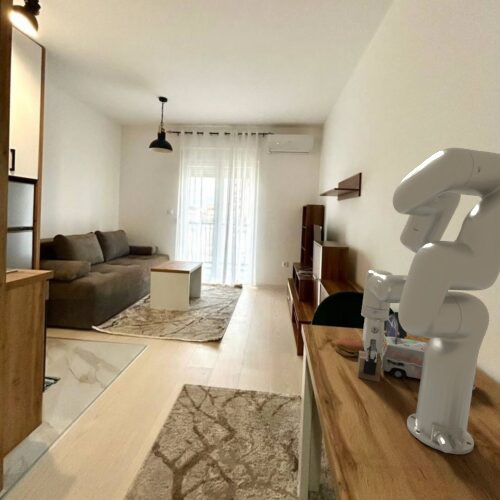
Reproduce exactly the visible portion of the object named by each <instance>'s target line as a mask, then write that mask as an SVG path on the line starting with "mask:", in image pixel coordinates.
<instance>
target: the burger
mask: <svg viewBox="0 0 500 500" xmlns="http://www.w3.org/2000/svg"><path fill="white" fill-rule="evenodd" d="M334 349H335V351H336V352H337V353H338V354H339V355H342V356H345V357H359V351H363V341H361V340H360V339H356V338H352V337H340V338H338V339H337V340H336V342H335V347H334Z"/></svg>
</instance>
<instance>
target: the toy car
mask: <svg viewBox="0 0 500 500" xmlns="http://www.w3.org/2000/svg"><path fill="white" fill-rule="evenodd" d="M427 343H428V342H425V341H419V340H415V339H414V340H412V339H407V338H404V339H402V338H396V337H386V339H385V341H384V342H383V347H382V354H380V356H381V360H382V367H381V372H382V371H385V372H388V373H389V372H390V375H391V377H393V378H395V379H399V380H405V379H406V377H410V378H413V379H420V380H421V372H422V364H423V358H424V352H425V348H426V345H427ZM476 379H477V376H476V375H475V376H474V383H473V389H472V391H475V390H476V388H477V386H476V385H475V383H476Z"/></svg>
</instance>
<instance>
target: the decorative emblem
mask: <svg viewBox="0 0 500 500" xmlns="http://www.w3.org/2000/svg"><path fill="white" fill-rule="evenodd" d="M384 329H385V332H384V337H383V343H384V341H385V339H386V337H396V338H402V339H406V337H407V336H408V335H407V334H408V333H407V332H406V331H404V329H403V328H402V326H401V324H400V322H399V317H398V311H394V312H393V313H391V314H390V313H389V316H388V320H386V321H385V326H384Z"/></svg>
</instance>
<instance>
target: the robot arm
mask: <svg viewBox="0 0 500 500" xmlns="http://www.w3.org/2000/svg"><path fill="white" fill-rule="evenodd" d="M461 195H465V196H476V197H479V198H481V200H480V201H479V202H477V204H475V205H474V206H473V207H472V208H471V209H470V210H469V212H468V213H467V214H466V216H465V217H464V219H463V220H462V223H461V227H460V230H459V232H458V235H457V238H456V239H455V240H454V241H450V240H449V241H448V240H442V238H443V235H444V234H445V232H446V230H447V228H448V225H449V224H450V222H451V220H452V218H453V216H454V214H455V212H456V210H457V208H458V206H459V204H460V202H461ZM392 206H393V208H394V210H395V211H396V212H397V213H398V214H401V215H408V217H407V218H408V219H407V220H406V222H405V224H404V227H403V229H402V232H401V233H400V236H399V241H400V243H401V244H402V245H403V247H405V248H406V249H408V250H409V251H411V252H413V253H415V254H414V256H413V258H412V260H411V264H410V267H409V270H408V274H407V275H406V274H404V275H403V274H401V275H400V274H393V273H392V272H390V271H387V270H383V269H369V270H368V271H367V272H366V274H365V283H364V289H363V297H362V298H363V299H362V305H361V313H360V314H361V316H362V317H363V318H364V323H363V331H362V343H363V351H364V352H366V360H365V362H364V369H363V373H364V374H368V375H373V376H374V375H375V372H376V364H377V362H376V361H377V354H380V355H381V354H382V347H383V344H384V342H383V340H384V333H385V322H386V320H388V316H389V315H390V310H391V309H390V307H391V304H398V308H397V309H398V310H397V312H398V317H399V322H400V324H401V326H402V328H403V329H404V331H406V332H407V334H408V335H410V336H412V337H415V338H421V339H422V338H423V339H425V338H426V339H429V340H428V342H426V343H427V345H426V348H425V352H424V358H423V364H422V372H421V379H420V381H419V388H418V396H417V402H416V403H417V404H416V410H415V412H414V413H412V414H411V413H410V415H408V417H407V418H406V427H407V429H408V430H409V432H410V434H412V436H414V438H417V440H419V441H420V442H421V443H423V444H425V445H427V446H429V447H430V448H433V449H435V450H438V451H440V452H443V453H446V454H453V455H465V454H469V453H471V452H472V451H473V450H474V446H475V440H474V439H473V437H472V435H471V434H470V433H469V432H468V431H467V429H468V423H469V422H468V421H469V417H470V416H469V415H470V409H471V408H470V407H471V402H472V396H473V383H474V376H476V370H477V363H478V359H479V358H478V357H479V353H480V349H481V346H482V343H483V341H484V338H485V336H486V333H487V332H488V328H489V322H490V315H489V314H490V313H489V311H488V308H487V305H486V304H485V303H484V302H483V301H482V300H481V299H480V298H479V297H477V296H475V295H473V294H470V293H467V292H461V291H471V292H473V291H474V292H475V291H484V290H488V289H489V288H491V287H493V285H494V284H495V283H496V281H497V280H498V277H499V275H500V153H496V152H491V151H483V150H477V149H476V150H475V149H470V148H462V147H448V148H445V149H441V150H440V151H437V152H436V153H434V154H433V155H431V156H430V157H429V158H428V159H426V160H425V161H424V162H422V163H421V164H420V165H418V166H417V167H416V168H414V169H413V170H412V171H411V172H410V173H408V174H407V175H406V176H405V177H404V178H403V179H402V180H401V181H400V183H399V184H398V185H397V187H396V188H395V190H394V192H393V196H392ZM369 353H370V354H369ZM368 354H369V355H368ZM474 384H475V383H474Z"/></svg>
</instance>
